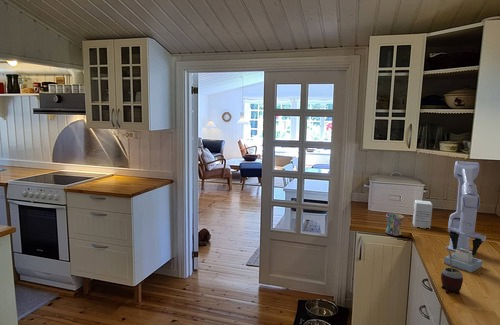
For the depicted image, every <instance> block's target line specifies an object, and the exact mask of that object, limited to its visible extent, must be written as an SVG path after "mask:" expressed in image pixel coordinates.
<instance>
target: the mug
mask: <svg viewBox="0 0 500 325" xmlns="http://www.w3.org/2000/svg"><path fill="white" fill-rule="evenodd" d="M385 217H386V220H387V226H386V229H385V234H387V235H389V236H396V237H397V236H401V235H402V231H401V230H402V229H401V225H402V222H403V220H404V218H405V216H404V215H402V214H399V213H393V212H392V213H391V212H390V213H386V214H385Z"/></svg>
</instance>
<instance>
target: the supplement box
mask: <svg viewBox="0 0 500 325" xmlns="http://www.w3.org/2000/svg"><path fill="white" fill-rule="evenodd" d="M432 215H433V203H432V202H431V201H429V200H420V199H415V200H414V204H413V212H412V225H413V227H414V228H417V227H420V228H419V229H426V228H429V229H428V230H431V226H432Z"/></svg>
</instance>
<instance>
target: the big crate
mask: <svg viewBox="0 0 500 325" xmlns="http://www.w3.org/2000/svg"><path fill="white" fill-rule="evenodd" d="M449 255H450V254H448V255H446V256H444V259H443V260H444V261H443V264H444V265H447V266H450V267H451V263H450V257H449ZM451 255H452V267H453V268H454V269H457V270H461V271H465V272H466V273H470V274H472V273H474V272H476V271H477V270H479V269H481V268H483V261H484V260H483V259H479V258H476V257H473V256H472V264H471V265H470V264H466V263H463V262H460V261H457V260H455V252H453V253H451Z"/></svg>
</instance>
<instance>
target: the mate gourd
mask: <svg viewBox="0 0 500 325" xmlns="http://www.w3.org/2000/svg"><path fill="white" fill-rule="evenodd" d="M446 247H447V248H446V249H447V251H448V253H449V254H448V255H449V257H450V263H451V266H450V267H446V268H444V269H442V272H441V274H440V280H441V284H442V286H441V289H444V290H445V294H449V292H450V293H453V292H454V293H453V294H455V293H456V295H460V294H461V293H460V291H461V289H462V286H463V283H464V277H463V274H462V272H461V271H460V269H458V268H454V267H452V255H451V254H452V253H451V250H450V249H449V248H448V246H446Z"/></svg>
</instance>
